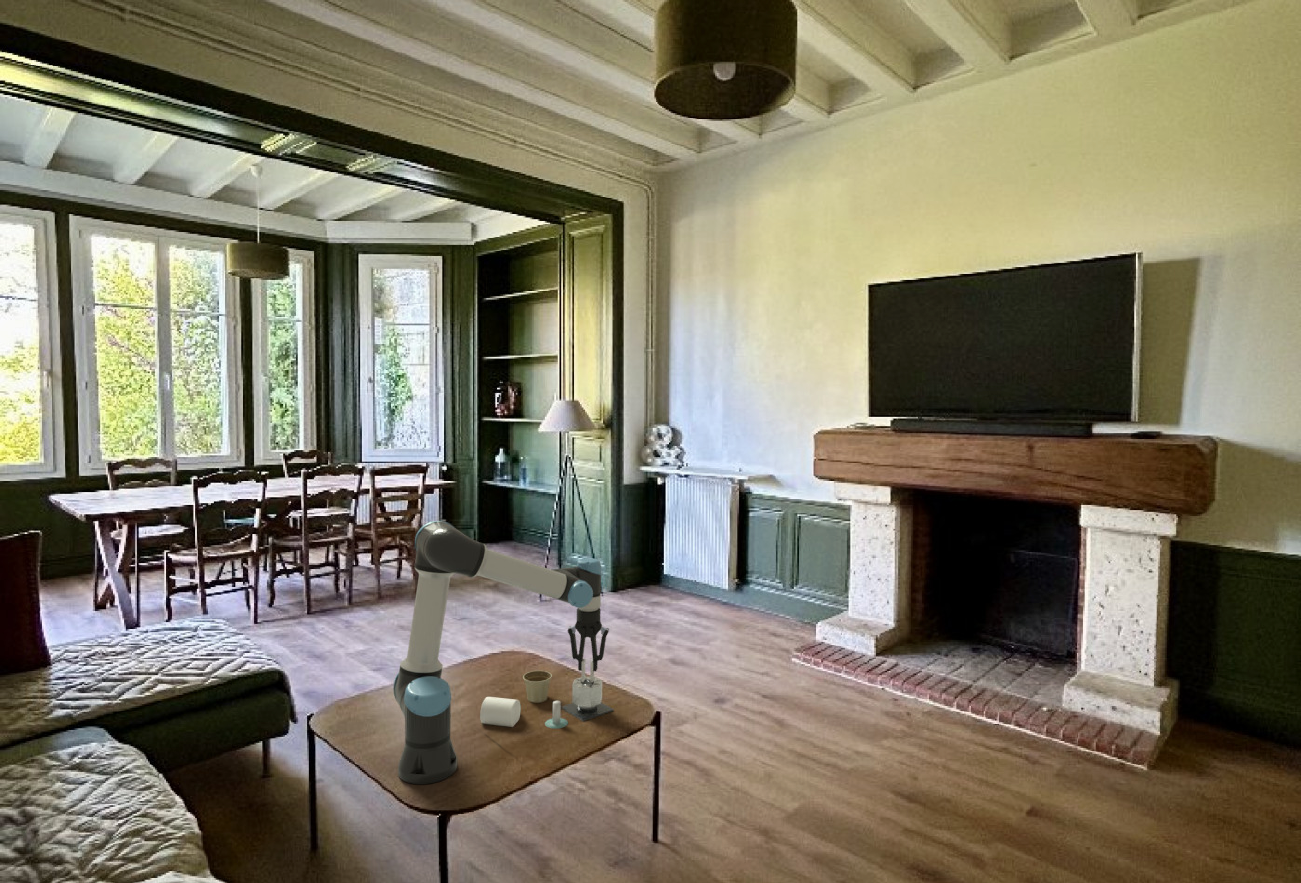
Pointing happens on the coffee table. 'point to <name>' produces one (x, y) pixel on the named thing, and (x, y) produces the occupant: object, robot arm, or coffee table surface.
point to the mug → (500, 711)
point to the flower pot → (537, 685)
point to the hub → (587, 710)
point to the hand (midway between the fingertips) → (587, 680)
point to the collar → (587, 692)
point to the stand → (556, 717)
